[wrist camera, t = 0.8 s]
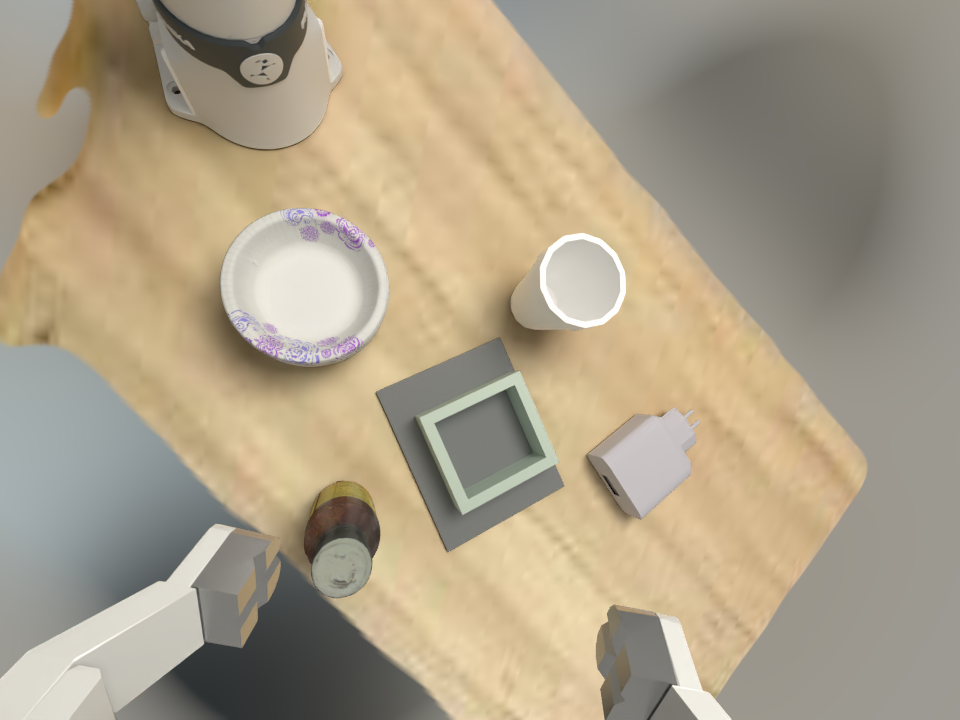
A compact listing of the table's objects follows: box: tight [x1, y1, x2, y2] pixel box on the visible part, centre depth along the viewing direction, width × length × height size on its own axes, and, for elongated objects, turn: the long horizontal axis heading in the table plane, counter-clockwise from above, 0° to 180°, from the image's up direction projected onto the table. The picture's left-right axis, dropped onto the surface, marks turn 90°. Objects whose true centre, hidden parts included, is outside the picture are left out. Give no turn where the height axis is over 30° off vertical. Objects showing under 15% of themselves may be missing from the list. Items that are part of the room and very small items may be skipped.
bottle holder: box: [415, 371, 559, 515], centre depth 52 cm, size 11×12×4 cm
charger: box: [587, 407, 700, 520], centre depth 58 cm, size 5×9×15 cm
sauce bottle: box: [304, 481, 380, 598], centre depth 40 cm, size 6×6×20 cm
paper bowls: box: [220, 208, 389, 367], centre depth 47 cm, size 15×15×8 cm
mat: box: [376, 337, 564, 552], centre depth 54 cm, size 20×16×1 cm
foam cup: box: [511, 233, 626, 331], centre depth 51 cm, size 10×9×13 cm
